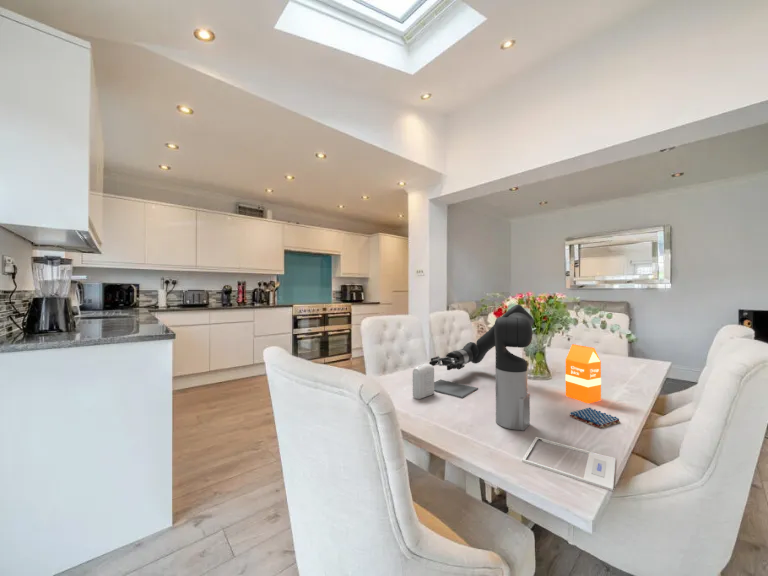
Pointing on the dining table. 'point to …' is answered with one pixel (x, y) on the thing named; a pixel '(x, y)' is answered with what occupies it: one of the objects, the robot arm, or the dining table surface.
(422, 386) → the photo printer
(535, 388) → the dining table surface
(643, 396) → the dining table surface
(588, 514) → the dining table surface
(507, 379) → the robot arm
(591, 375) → the orange juice
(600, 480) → the photo frame
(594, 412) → the woven mat
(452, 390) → the charcoal mat
